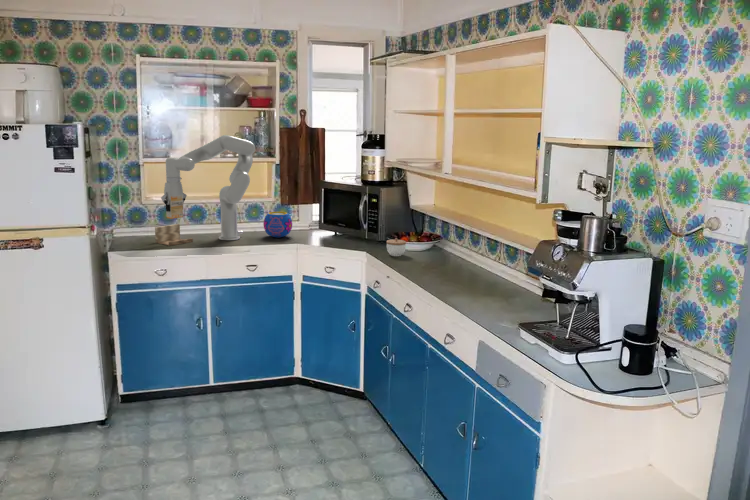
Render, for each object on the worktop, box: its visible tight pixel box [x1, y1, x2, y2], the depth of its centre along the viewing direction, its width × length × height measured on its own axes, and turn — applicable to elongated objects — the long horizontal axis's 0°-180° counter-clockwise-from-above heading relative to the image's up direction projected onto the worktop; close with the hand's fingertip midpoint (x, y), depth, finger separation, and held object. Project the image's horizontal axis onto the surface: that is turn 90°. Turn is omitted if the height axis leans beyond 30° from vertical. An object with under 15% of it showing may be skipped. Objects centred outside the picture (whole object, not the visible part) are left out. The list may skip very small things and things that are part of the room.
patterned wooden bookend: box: [154, 223, 194, 247], centre depth 373 cm, size 16×13×9 cm
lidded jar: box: [386, 237, 407, 257], centre depth 356 cm, size 11×11×9 cm
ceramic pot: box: [262, 211, 293, 239], centre depth 397 cm, size 18×18×15 cm
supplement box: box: [165, 195, 184, 220], centre depth 369 cm, size 8×5×13 cm, turn 143°
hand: (174, 210), depth 369 cm, fingers closed on supplement box, 8 cm apart
